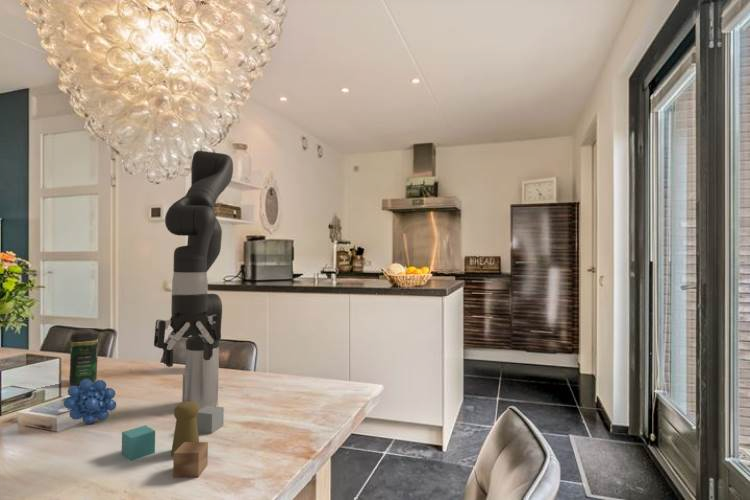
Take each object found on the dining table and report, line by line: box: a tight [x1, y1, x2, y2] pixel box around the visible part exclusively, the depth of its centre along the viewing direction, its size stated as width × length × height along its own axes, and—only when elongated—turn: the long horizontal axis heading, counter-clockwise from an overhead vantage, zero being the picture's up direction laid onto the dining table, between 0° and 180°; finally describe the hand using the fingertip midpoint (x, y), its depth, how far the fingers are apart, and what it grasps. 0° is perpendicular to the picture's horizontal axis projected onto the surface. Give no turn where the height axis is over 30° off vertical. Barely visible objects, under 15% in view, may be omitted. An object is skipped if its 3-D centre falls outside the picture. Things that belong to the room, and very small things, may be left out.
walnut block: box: [172, 441, 209, 479], centre depth 87 cm, size 5×5×5 cm
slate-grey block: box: [196, 405, 225, 434], centre depth 108 cm, size 5×5×5 cm
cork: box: [170, 401, 200, 458], centre depth 95 cm, size 6×6×11 cm
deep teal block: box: [121, 425, 156, 462], centre depth 94 cm, size 5×5×5 cm
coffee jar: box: [69, 328, 99, 387], centre depth 147 cm, size 10×8×19 cm
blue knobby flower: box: [63, 379, 117, 425], centre depth 110 cm, size 12×7×12 cm, turn 128°
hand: (188, 362), depth 96 cm, fingers open, 8 cm apart
